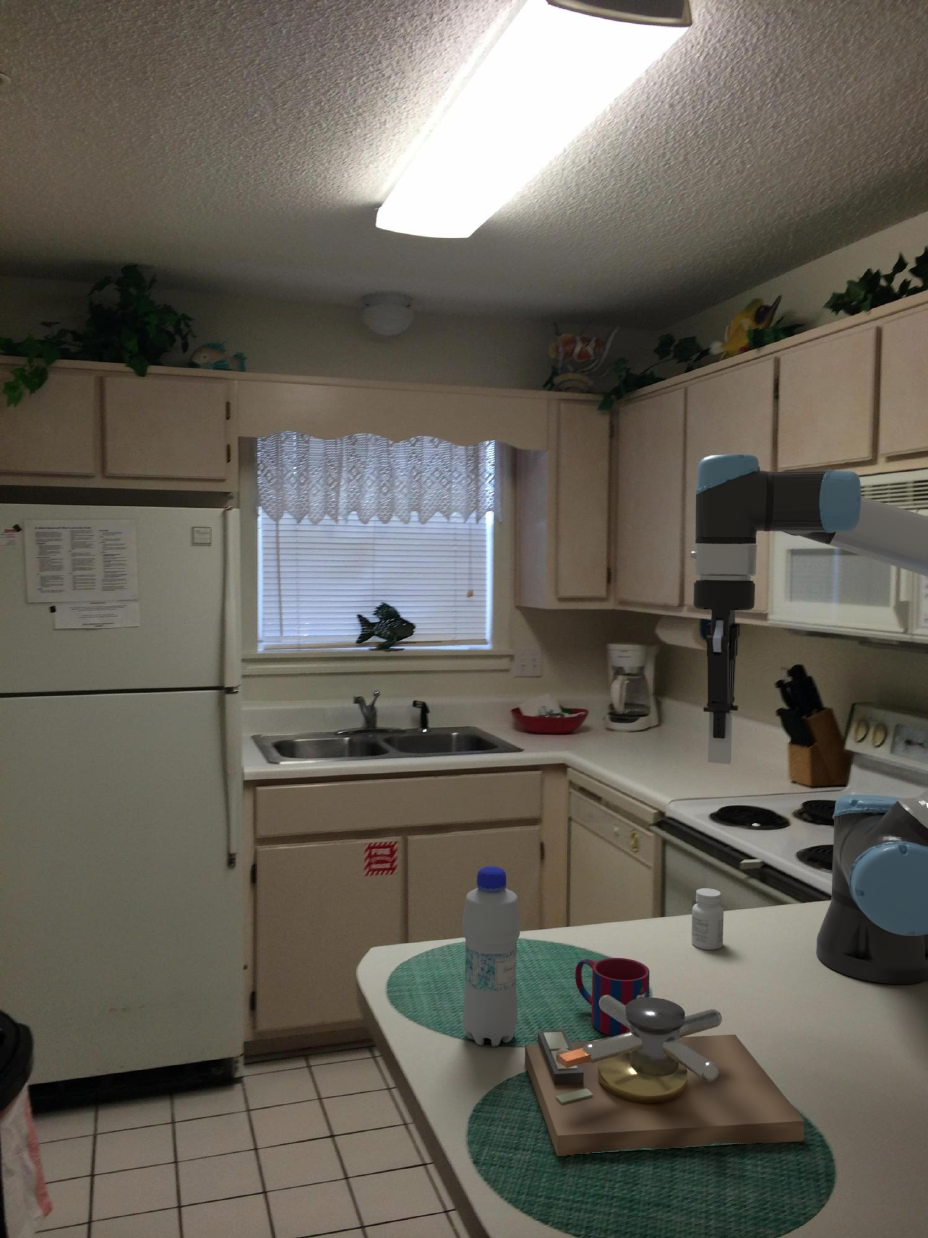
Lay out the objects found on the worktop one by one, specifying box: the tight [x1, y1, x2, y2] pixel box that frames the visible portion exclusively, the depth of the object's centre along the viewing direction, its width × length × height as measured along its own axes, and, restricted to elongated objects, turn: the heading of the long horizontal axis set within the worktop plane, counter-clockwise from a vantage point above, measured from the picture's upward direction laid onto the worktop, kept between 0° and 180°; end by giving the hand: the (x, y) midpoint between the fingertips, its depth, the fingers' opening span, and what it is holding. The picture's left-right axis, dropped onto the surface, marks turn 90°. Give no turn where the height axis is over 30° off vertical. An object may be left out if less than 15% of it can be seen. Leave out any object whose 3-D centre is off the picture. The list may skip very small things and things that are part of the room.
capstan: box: [558, 995, 723, 1103], centre depth 100 cm, size 18×20×7 cm
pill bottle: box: [691, 887, 725, 951], centre depth 141 cm, size 4×4×8 cm
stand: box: [524, 1029, 805, 1157], centre depth 101 cm, size 24×18×4 cm
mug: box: [574, 957, 651, 1037], centre depth 118 cm, size 7×10×7 cm
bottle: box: [461, 865, 522, 1047], centre depth 113 cm, size 7×7×20 cm
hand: (719, 761), depth 126 cm, fingers closed
